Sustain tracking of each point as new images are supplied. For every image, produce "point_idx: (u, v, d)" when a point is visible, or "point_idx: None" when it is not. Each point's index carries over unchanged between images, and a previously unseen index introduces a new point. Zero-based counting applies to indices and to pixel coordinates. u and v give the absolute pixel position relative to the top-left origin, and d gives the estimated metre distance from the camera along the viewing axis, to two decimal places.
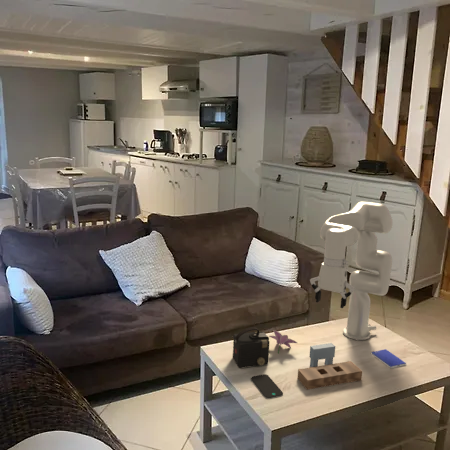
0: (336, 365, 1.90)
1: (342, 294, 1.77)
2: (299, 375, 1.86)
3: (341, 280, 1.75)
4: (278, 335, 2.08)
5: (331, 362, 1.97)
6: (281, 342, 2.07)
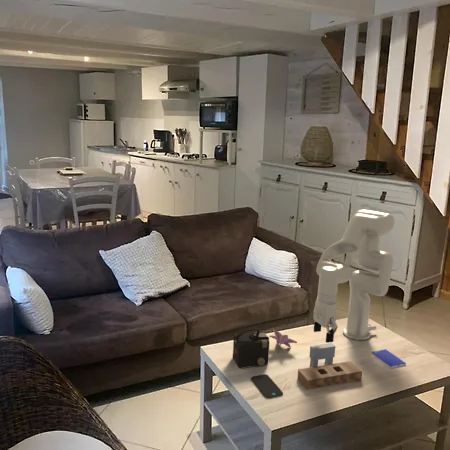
0: (336, 365, 1.90)
1: None
2: (299, 375, 1.86)
3: None
4: (278, 335, 2.08)
5: (331, 362, 1.97)
6: (281, 342, 2.08)
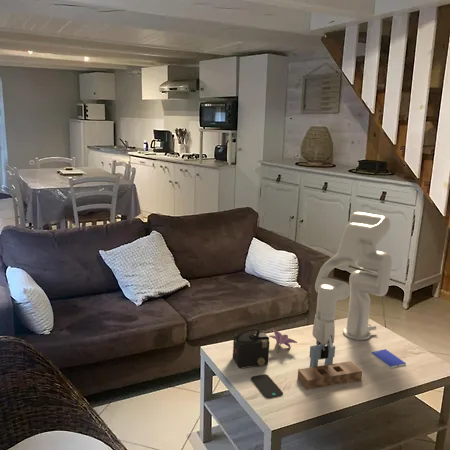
0: (336, 365, 1.90)
1: None
2: (299, 375, 1.86)
3: None
4: (278, 335, 2.09)
5: (331, 362, 1.97)
6: (281, 342, 2.08)
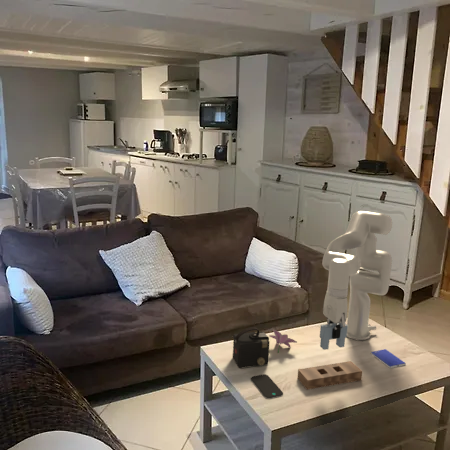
0: (336, 365, 1.90)
1: None
2: (299, 375, 1.86)
3: None
4: (277, 335, 2.09)
5: (343, 343, 1.84)
6: (281, 341, 2.08)
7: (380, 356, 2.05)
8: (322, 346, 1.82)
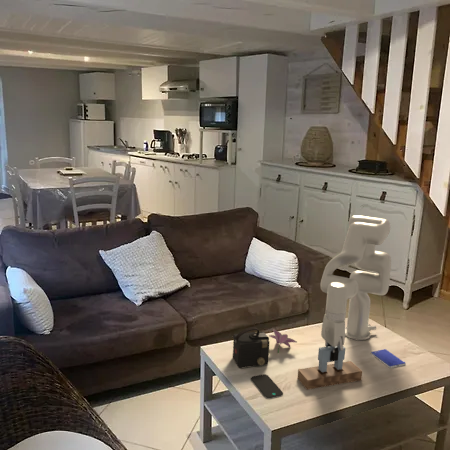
0: None
1: None
2: (299, 375, 1.86)
3: None
4: (277, 335, 2.09)
5: (341, 365, 1.86)
6: (281, 341, 2.08)
7: (380, 356, 2.05)
8: (320, 368, 1.85)
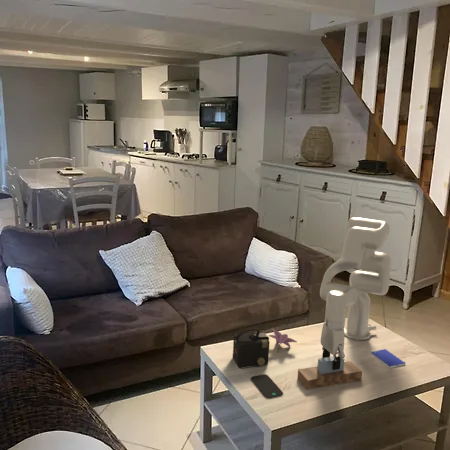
0: None
1: None
2: (299, 375, 1.86)
3: None
4: (277, 335, 2.09)
5: None
6: (281, 341, 2.08)
7: (380, 356, 2.05)
8: None
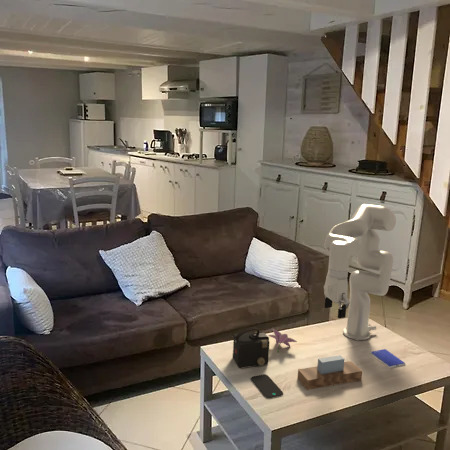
0: None
1: None
2: (299, 375, 1.86)
3: None
4: (277, 335, 2.09)
5: None
6: (281, 341, 2.08)
7: (380, 356, 2.05)
8: None
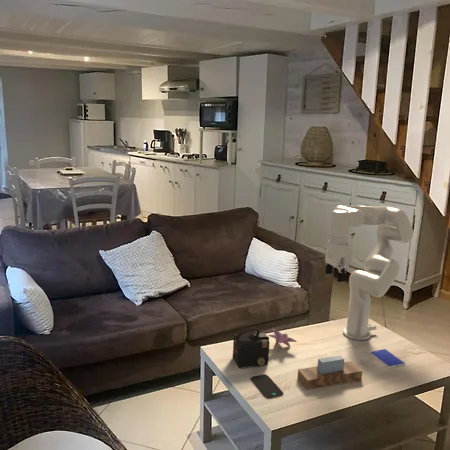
0: None
1: None
2: (299, 375, 1.86)
3: None
4: (277, 334, 2.09)
5: None
6: (280, 341, 2.08)
7: (379, 356, 2.05)
8: None
